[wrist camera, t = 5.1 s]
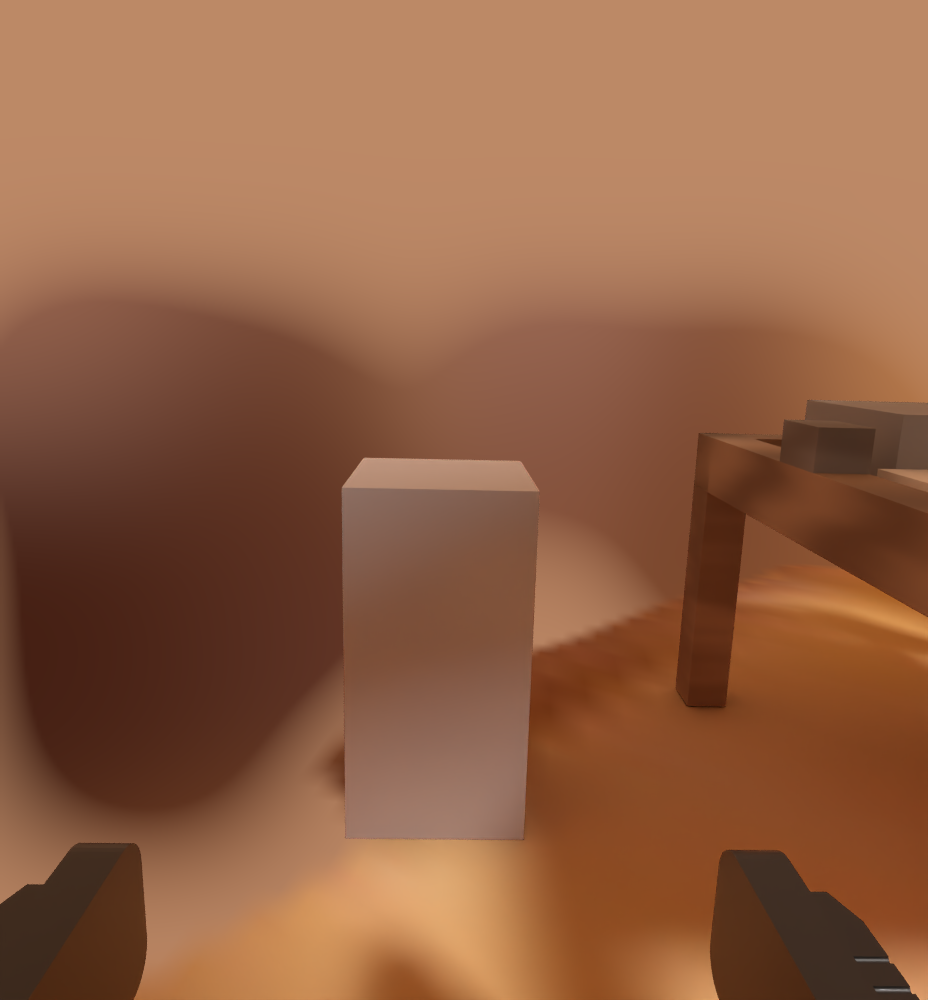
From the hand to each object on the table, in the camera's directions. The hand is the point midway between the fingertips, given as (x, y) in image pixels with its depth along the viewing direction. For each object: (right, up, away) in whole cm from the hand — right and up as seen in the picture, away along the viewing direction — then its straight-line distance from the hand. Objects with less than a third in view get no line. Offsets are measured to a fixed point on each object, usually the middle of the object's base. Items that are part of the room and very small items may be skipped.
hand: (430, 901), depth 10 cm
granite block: (0, -3, +13) cm, 13 cm away
